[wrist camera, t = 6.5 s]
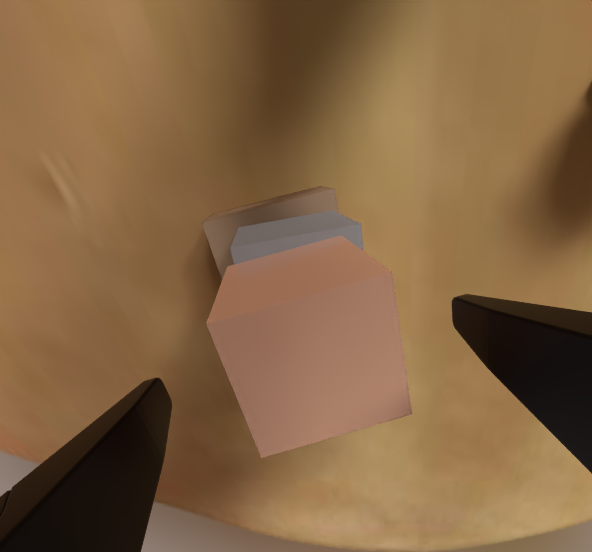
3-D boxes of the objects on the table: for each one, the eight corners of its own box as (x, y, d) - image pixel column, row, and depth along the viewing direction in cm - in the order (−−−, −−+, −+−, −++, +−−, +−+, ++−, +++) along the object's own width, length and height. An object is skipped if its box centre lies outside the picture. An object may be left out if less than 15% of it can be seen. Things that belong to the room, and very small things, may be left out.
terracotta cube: (341, 235, 11) (392, 271, 7) (361, 333, 13) (412, 413, 8) (227, 266, 11) (205, 324, 7) (260, 362, 12) (261, 458, 8)
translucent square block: (319, 186, 19) (334, 188, 15) (338, 283, 21) (356, 307, 17) (213, 213, 18) (201, 222, 15) (245, 309, 21) (242, 338, 17)
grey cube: (333, 210, 15) (360, 223, 11) (342, 296, 17) (370, 336, 13) (238, 227, 15) (230, 247, 11) (258, 312, 17) (257, 359, 12)
